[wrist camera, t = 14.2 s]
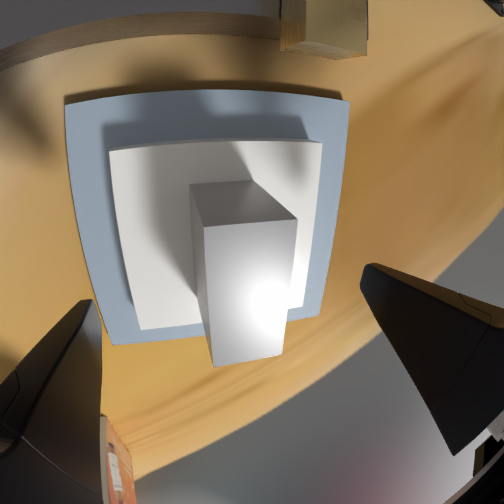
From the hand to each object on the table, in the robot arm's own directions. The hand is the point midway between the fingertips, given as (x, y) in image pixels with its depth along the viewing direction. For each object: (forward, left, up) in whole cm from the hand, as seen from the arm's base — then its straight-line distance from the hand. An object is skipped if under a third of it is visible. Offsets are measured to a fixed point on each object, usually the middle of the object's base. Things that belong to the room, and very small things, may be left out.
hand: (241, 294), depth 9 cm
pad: (0, 0, -5) cm, 5 cm away
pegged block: (-3, -10, -2) cm, 11 cm away
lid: (0, 0, -5) cm, 5 cm away
